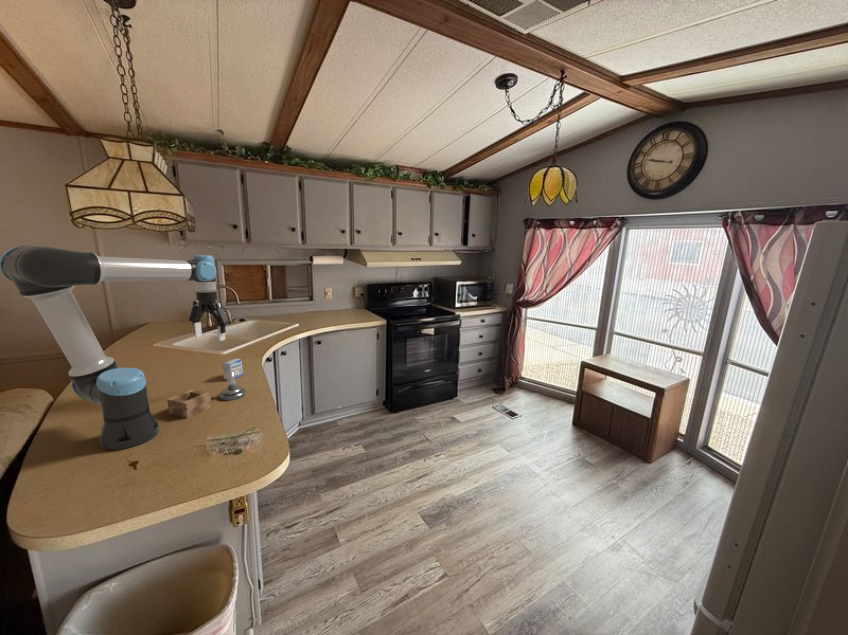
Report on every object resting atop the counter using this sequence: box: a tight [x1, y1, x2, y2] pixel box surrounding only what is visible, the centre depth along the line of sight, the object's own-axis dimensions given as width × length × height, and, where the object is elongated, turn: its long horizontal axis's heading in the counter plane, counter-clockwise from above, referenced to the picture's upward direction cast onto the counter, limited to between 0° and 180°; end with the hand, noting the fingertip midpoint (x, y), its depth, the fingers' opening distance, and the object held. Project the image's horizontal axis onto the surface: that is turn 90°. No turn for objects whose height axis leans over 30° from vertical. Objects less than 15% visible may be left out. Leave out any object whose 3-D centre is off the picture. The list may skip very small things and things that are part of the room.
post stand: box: [218, 371, 246, 402], centre depth 145 cm, size 10×10×11 cm
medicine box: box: [222, 358, 244, 381], centre depth 165 cm, size 8×4×9 cm, turn 168°
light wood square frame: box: [166, 388, 213, 419], centre depth 132 cm, size 10×10×6 cm
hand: (210, 338), depth 148 cm, fingers open, 13 cm apart
